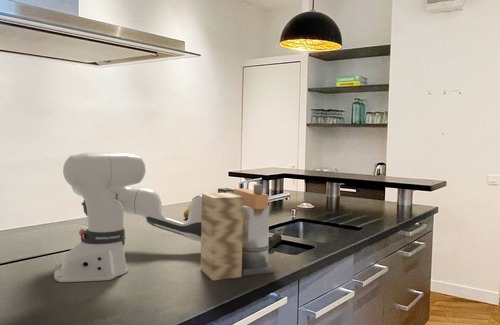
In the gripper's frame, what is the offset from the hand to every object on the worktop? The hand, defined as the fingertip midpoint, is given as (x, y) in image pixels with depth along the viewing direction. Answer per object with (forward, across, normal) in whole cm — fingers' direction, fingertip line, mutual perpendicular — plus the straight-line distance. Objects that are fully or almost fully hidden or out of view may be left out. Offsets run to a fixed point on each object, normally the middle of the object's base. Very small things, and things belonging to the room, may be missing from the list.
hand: (241, 193), depth 159 cm
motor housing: (-2, +1, -27) cm, 27 cm away
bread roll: (-85, -8, +21) cm, 88 cm away
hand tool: (-25, -21, -14) cm, 36 cm away
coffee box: (-87, -27, +22) cm, 94 cm away
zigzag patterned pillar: (-1, +12, -28) cm, 30 cm away
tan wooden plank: (+7, 0, -7) cm, 10 cm away
